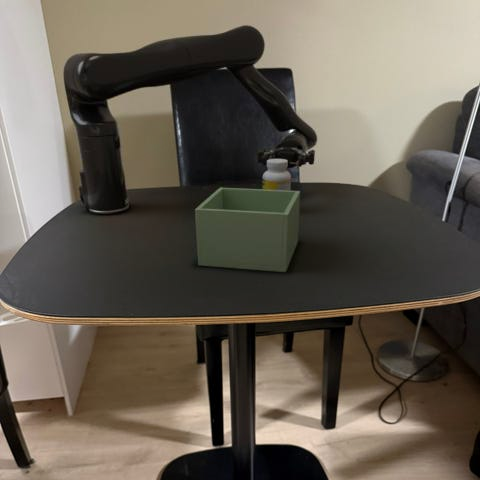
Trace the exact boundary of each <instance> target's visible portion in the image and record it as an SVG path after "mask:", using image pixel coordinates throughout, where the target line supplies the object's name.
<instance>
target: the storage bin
mask: <svg viewBox="0 0 480 480" xmlns="http://www.w3.org/2000/svg"><path fill="white" fill-rule="evenodd" d="M300 198H301V190H290V191H288V190H265V189H263V188H243V187H242V188H241V187H219V188H218V189H216V191H213V193H212V194H210V196H209V197H207V198H206V199H205V200H204V201H203V202H201V203H200V204H199V205H198V206H197V207H196V208H195V209H194V217H195V235H196V251H197V265H198V266H204V267H215V268H225V269H226V268H227V269H238V270H240V269H242V270H252V271H264V272H265V271H266V272H277V273H287V272H288V271H287V270H288V268H289V265H290V263H291V260H292V257H293V255H294V253H295V250H296V248H297V245H298V242H299V228H300V227H299V226H300V225H299V223H300V206H301V205H300V204H301V199H300Z"/></svg>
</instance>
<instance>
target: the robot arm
mask: <svg viewBox="0 0 480 480" xmlns="http://www.w3.org/2000/svg"><path fill="white" fill-rule="evenodd" d="M265 47H266V43H265V39H264V36H263V34H262V32H261V31H260V30H259V29H257V27H254V26H252V25H249V24H245V25H240V26H237V27H235V28H232V29H229V30H227V31H224V32H220V33H215V34H202V35H201V34H200V35H190V36H189V35H187V36H179V37H173V38H167V39H161V40H158V41H157V40H156V41H154V42H152V43H149V44H146V45H144V46H142V47H140V48H138V49H135V50H132V51H126V52H125V51H124V52H111V53H102V52H101V53H100V52H99V53H98V52H82V53H76V54H73V55H71V56H70V57H69V58H68V59H67V60H66V61H65V63H64V66H63V73H62V74H63V75H62V76H63V77H62V78H63V84H64V92H65V96H66V100H67V105H68V110H69V114H70V115H69V116H70V119H71V121H72V122H73V125H74V127H75V131H76V137H77V143H78V149H79V154H80V160H81V166H82V169H80V170H79V177H80V183H81V185H80V186H78V190H79V191H78V192H79V198H80V201H81V202H82V204H83V206H84V207H85V212H89V213H91V214H94V215H113V214H119V213H123V212H125V211H128V210H129V208H130V205H129V203H130V196H128V193H127V183H126V177H125V176H126V175H125V169H124V168H125V167H124V160H123V152H122V145H121V136H120V129H119V122H118V120H117V119H116V118H115V117H114V115H113V114H112V112H111V111H110V107H109V103H108V101H109V100H111V99H115V98H117V97H119V96H122V95H124V94H127V93H130V92H133V91H136V90H139V89H145V88H158V87H165V86H171V85H176V84H180V83H185V82H188V81H191V80H195V79H198V78H201V77H203V76H205V75H209V74H210V73H213V72H215V71H219V70H221V69H226V70H227V71H228V72H229V73H230V74H231V75H232V76H233V77H234V78H235V79H236V80H237V81H238V82H239V84H240V85H241V86H242V87H243V88H244V89H245V90H246V91H247V92H248V93H249V94H250V96H251V97H252V98H253V99H254V100H255V101H256V102H257V104H258V105H259V107H260V108H261V110H262V111H263V112H264V113H265V115H266V116H267V118H268V119H269V121H270V122H271V124H272V126H273V127H274V129H275V130H276V131H277V132H278V133H285V132H288V131H291V132H289V133H288V134H286V135H284V136H283V137H282V138H281V140H280V141H279V142H278V144H276V147H275V148H272V149H270V150H269V151H268V149H267V148H262V149H260V150H258V151H257V152H256V153H257V154H256V156H257V157H256V159H257V160H256V162H257V163H259V164H262V165H263V166H265V167H267V160H269V159H285V160H287V161H288V166H287V168H286V169H293V168H295V167H299V168H301V167H303V166H305V165H307V163H308V165H309V166H312V165H314V164H315V158H316V157H315V156H316V155H315V154H316V150H315V149H313V148H314V147H315V146H317V143H318V134H317V133H316V131H315V129H314V128H313V127H312V126H311V125H310V124H309V123H307V122H306V121H305V120H304V119H303V118H301V117H300V116H299V114H297V112H296V111H295V109H294V107H293V106H292V104H291V103H290V101H289V100H288V98H287V97H286V96H285V94H284V93H283V92H282V91H281V90H280V89H279V88H278V87H277V86H275V85H274V84H273V83H272V82H271V81H269V80H268V79H267V78H265V77H264V76H263V74H261V73H260V72H259V71H258V69H257V68H256V67H255V66H254V65H256V64H257V63H258V62H259V61H260V60H261V59H262V57H263V55H264V52H265V49H266V48H265Z"/></svg>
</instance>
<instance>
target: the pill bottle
mask: <svg viewBox="0 0 480 480" xmlns="http://www.w3.org/2000/svg"><path fill="white" fill-rule="evenodd" d="M287 166H288V161H287V160H285V159H270V158H269V160H267V165H266V168H267V170H266V171H264V173H263V174H262V189H265V190H288V191H291V188H292V186H291V185H292V175H291V173H290V172H289V171H288V170H287V169H288V168H287Z"/></svg>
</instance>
